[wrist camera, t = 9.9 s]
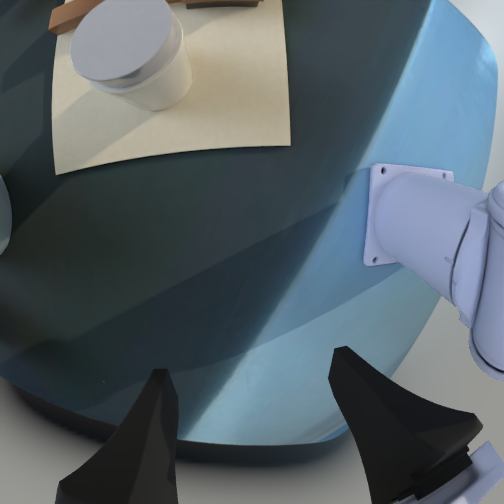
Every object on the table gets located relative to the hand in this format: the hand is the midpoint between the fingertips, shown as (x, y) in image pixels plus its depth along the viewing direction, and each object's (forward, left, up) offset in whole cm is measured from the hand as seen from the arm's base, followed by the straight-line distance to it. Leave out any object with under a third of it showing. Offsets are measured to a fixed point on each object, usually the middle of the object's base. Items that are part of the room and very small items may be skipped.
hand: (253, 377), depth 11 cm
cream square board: (+4, -17, -9) cm, 20 cm away
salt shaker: (+4, -14, -9) cm, 17 cm away
